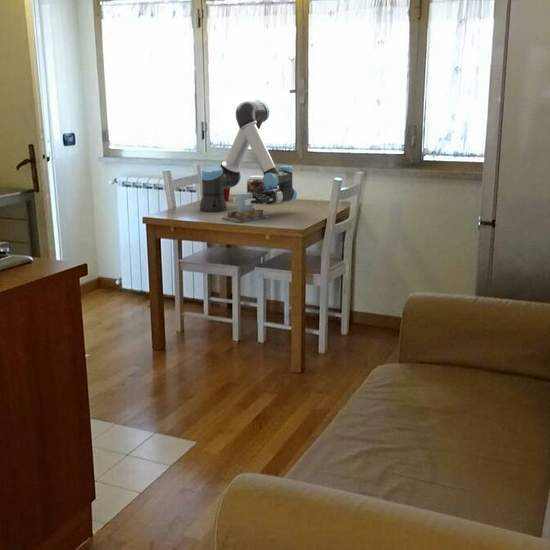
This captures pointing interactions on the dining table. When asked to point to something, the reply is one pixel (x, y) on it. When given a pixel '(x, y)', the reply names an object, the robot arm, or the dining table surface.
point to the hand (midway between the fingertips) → (239, 201)
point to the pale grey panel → (241, 202)
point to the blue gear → (270, 188)
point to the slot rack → (245, 215)
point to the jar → (255, 185)
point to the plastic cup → (226, 193)
